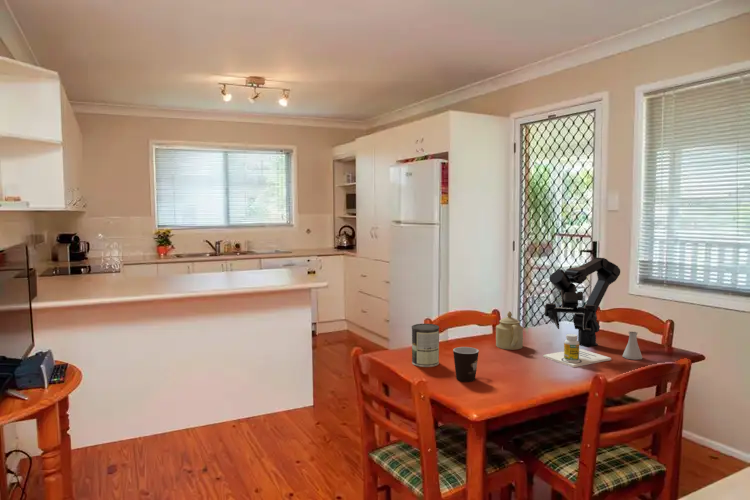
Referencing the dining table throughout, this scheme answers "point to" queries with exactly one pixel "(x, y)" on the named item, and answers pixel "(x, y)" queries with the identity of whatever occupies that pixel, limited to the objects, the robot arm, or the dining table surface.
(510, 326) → the sugar bowl
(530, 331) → the dining table surface
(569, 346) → the supplement bottle
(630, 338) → the flask
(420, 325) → the coffee can
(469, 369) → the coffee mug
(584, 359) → the notepad
